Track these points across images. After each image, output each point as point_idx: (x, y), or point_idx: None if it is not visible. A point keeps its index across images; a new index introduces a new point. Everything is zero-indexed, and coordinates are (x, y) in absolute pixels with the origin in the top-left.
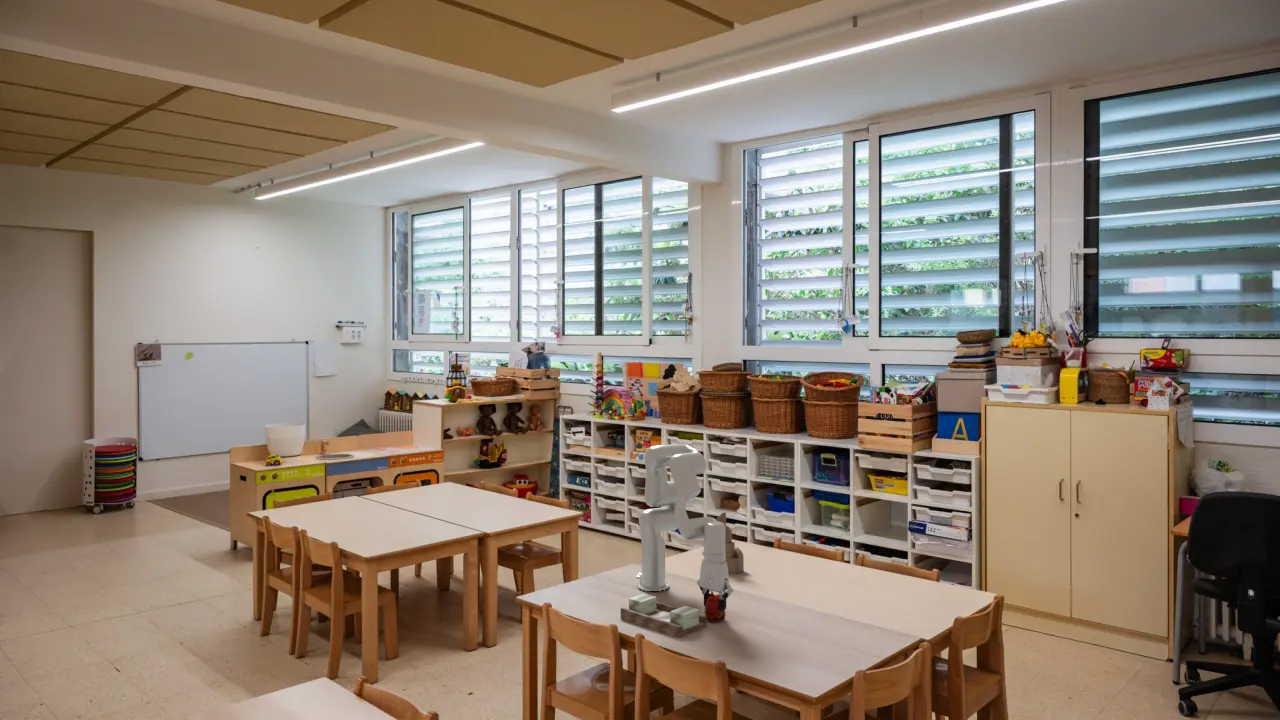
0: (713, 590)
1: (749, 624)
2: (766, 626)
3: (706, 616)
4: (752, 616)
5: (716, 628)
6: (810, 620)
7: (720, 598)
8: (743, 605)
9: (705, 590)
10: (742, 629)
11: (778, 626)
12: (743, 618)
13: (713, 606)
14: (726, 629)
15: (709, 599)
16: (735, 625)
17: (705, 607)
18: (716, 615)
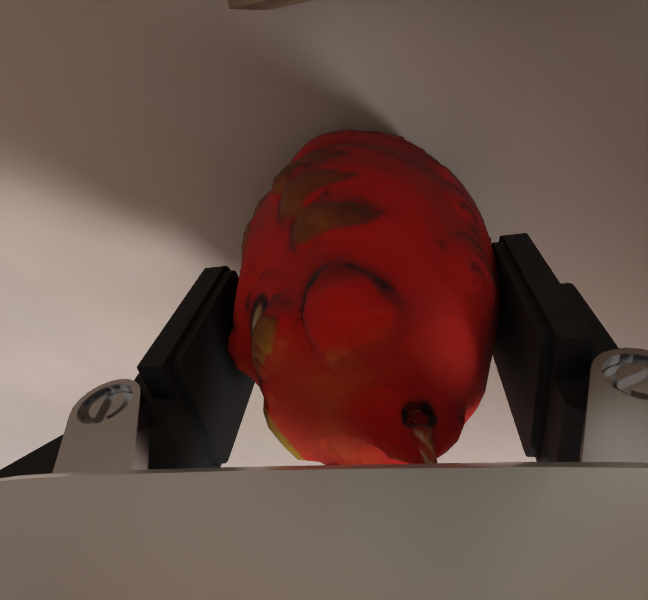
0: (133, 475)
1: (133, 362)
2: (55, 405)
3: (235, 2)
4: (261, 465)
5: (164, 70)
6: None
7: (273, 433)
8: None
9: (596, 446)
10: (49, 255)
11: (33, 444)
12: (262, 412)
13: (275, 239)
14: (96, 141)
15: (351, 279)
16: (159, 277)
17: (440, 190)
18: (260, 206)
